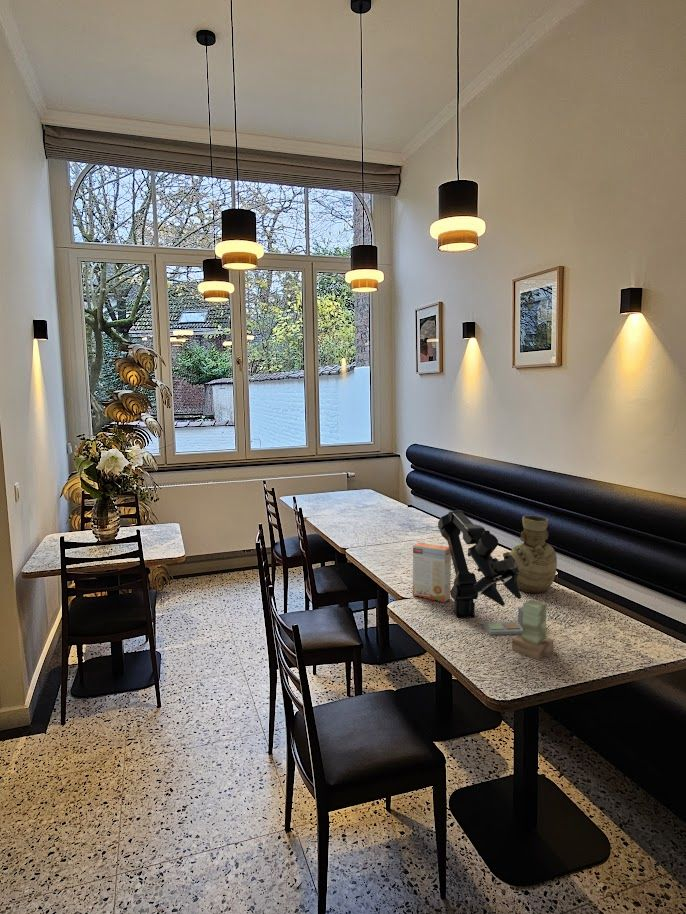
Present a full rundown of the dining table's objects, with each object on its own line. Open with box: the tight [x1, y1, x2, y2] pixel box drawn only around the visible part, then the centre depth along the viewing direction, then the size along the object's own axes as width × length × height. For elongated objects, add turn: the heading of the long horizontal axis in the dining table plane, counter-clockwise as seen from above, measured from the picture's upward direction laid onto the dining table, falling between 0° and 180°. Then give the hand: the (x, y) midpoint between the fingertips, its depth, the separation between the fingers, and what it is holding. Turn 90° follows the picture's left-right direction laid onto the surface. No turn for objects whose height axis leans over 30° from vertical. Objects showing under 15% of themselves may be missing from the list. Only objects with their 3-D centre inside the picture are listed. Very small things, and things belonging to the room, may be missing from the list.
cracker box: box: [412, 542, 452, 603], centre depth 230 cm, size 14×6×21 cm, turn 56°
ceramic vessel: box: [502, 515, 558, 594], centre depth 240 cm, size 19×21×30 cm
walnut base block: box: [511, 634, 555, 660], centre depth 185 cm, size 9×9×4 cm
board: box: [482, 621, 523, 636], centre depth 201 cm, size 12×8×1 cm, turn 94°
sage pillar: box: [522, 599, 548, 645], centre depth 183 cm, size 5×5×12 cm
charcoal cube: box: [517, 606, 523, 629], centre depth 204 cm, size 6×6×6 cm
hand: (512, 601), depth 190 cm, fingers open, 9 cm apart
